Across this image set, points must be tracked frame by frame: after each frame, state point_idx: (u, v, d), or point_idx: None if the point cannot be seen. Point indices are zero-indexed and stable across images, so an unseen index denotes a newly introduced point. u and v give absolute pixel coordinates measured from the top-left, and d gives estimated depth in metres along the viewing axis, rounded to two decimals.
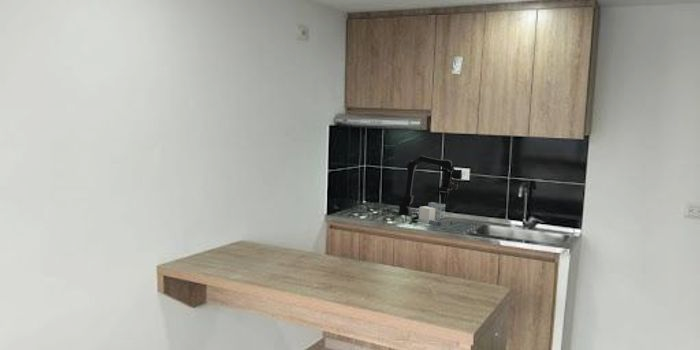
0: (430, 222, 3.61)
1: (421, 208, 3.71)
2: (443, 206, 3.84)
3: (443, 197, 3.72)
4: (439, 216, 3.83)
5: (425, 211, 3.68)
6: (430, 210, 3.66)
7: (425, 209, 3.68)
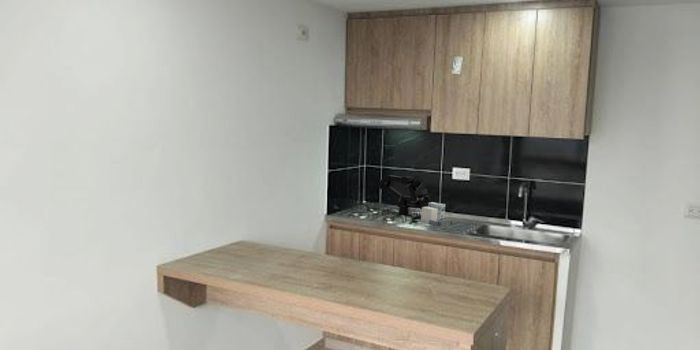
0: (430, 222, 3.61)
1: (423, 209, 3.70)
2: (443, 206, 3.84)
3: (421, 206, 3.74)
4: (439, 216, 3.83)
5: (427, 212, 3.67)
6: (432, 211, 3.65)
7: (427, 210, 3.67)
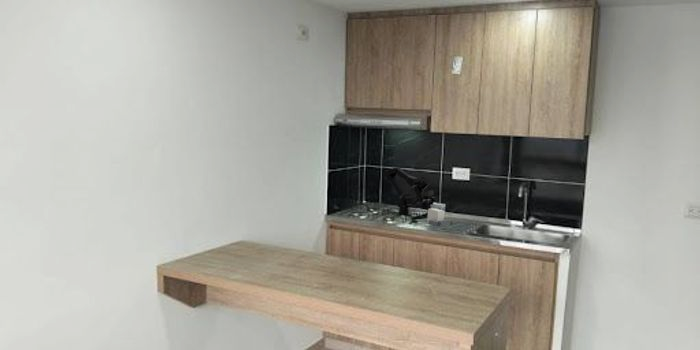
0: (430, 222, 3.61)
1: (430, 210, 3.65)
2: (443, 206, 3.84)
3: (427, 208, 3.69)
4: None
5: (434, 213, 3.62)
6: (439, 212, 3.60)
7: (434, 211, 3.63)
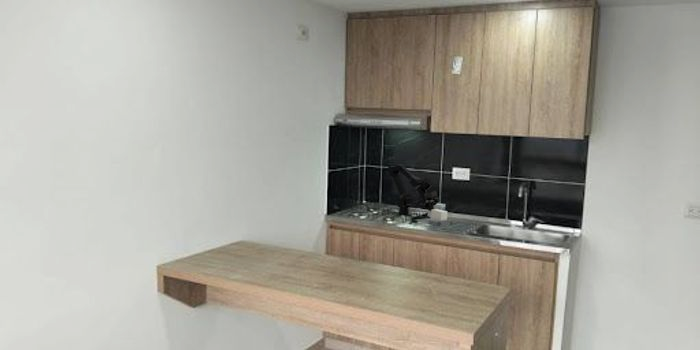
0: (430, 222, 3.61)
1: (433, 211, 3.63)
2: (443, 206, 3.84)
3: (430, 209, 3.67)
4: None
5: (437, 214, 3.60)
6: (442, 213, 3.58)
7: (437, 212, 3.60)
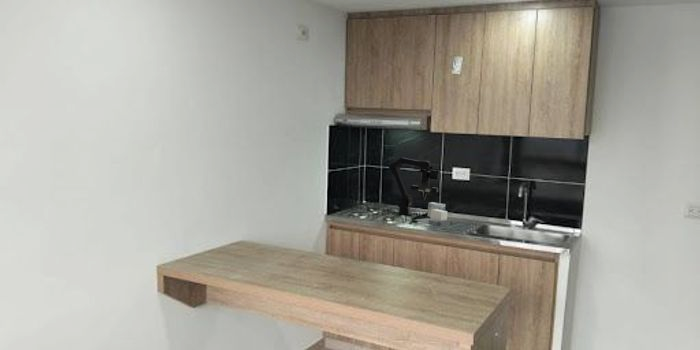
0: (430, 222, 3.61)
1: (433, 211, 3.63)
2: (443, 206, 3.84)
3: None
4: None
5: (437, 214, 3.60)
6: (442, 213, 3.58)
7: (437, 212, 3.60)
